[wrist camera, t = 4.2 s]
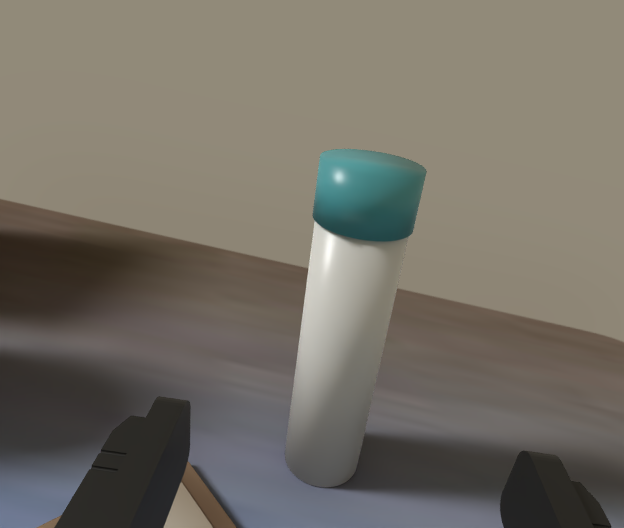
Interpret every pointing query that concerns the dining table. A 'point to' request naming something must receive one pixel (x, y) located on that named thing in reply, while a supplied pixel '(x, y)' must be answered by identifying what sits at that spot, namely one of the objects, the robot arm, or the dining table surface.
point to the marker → (348, 306)
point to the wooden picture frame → (189, 506)
